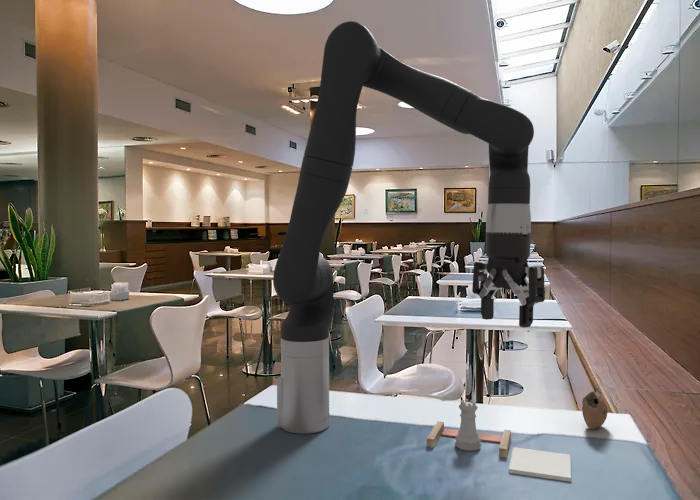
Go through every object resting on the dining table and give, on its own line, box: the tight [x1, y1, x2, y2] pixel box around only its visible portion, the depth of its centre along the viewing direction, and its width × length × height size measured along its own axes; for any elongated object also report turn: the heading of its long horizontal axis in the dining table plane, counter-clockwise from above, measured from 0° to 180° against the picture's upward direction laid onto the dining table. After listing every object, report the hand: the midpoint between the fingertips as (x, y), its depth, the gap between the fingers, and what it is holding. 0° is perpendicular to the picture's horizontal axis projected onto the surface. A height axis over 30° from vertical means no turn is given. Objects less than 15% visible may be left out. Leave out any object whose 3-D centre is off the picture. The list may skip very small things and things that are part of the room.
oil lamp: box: [581, 390, 608, 430], centre depth 103 cm, size 9×4×8 cm, turn 147°
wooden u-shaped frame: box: [426, 421, 512, 459], centre depth 97 cm, size 13×9×2 cm
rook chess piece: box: [454, 398, 482, 452], centre depth 95 cm, size 4×4×8 cm
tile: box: [508, 446, 572, 483], centre depth 88 cm, size 9×9×1 cm
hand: (505, 322), depth 96 cm, fingers open, 8 cm apart
